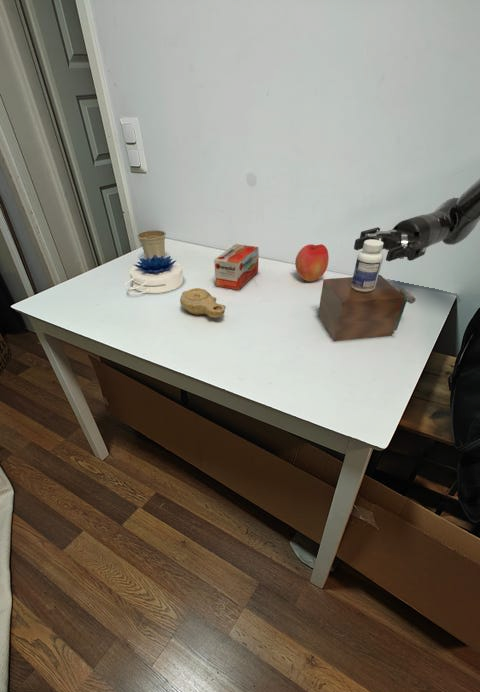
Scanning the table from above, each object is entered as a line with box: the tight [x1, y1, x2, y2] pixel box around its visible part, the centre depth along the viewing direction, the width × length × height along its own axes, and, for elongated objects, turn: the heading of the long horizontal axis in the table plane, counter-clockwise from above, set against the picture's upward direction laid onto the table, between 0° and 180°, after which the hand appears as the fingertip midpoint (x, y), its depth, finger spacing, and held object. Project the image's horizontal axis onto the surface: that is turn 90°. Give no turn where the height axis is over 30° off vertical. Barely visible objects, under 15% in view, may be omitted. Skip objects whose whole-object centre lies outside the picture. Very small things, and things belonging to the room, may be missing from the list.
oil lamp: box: [179, 287, 227, 319], centre depth 90 cm, size 11×14×5 cm
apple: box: [294, 243, 330, 282], centre depth 102 cm, size 10×10×10 cm
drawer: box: [393, 287, 416, 332], centre depth 83 cm, size 18×11×8 cm, turn 99°
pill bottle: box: [351, 239, 384, 292], centre depth 76 cm, size 5×5×10 cm
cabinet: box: [317, 274, 405, 342], centre depth 83 cm, size 15×13×10 cm
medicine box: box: [213, 243, 260, 291], centre depth 104 cm, size 15×8×8 cm, turn 155°
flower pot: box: [136, 229, 167, 260], centre depth 116 cm, size 9×9×9 cm
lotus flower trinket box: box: [124, 255, 184, 295], centre depth 102 cm, size 7×16×20 cm
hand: (371, 250), depth 74 cm, fingers open, 8 cm apart
